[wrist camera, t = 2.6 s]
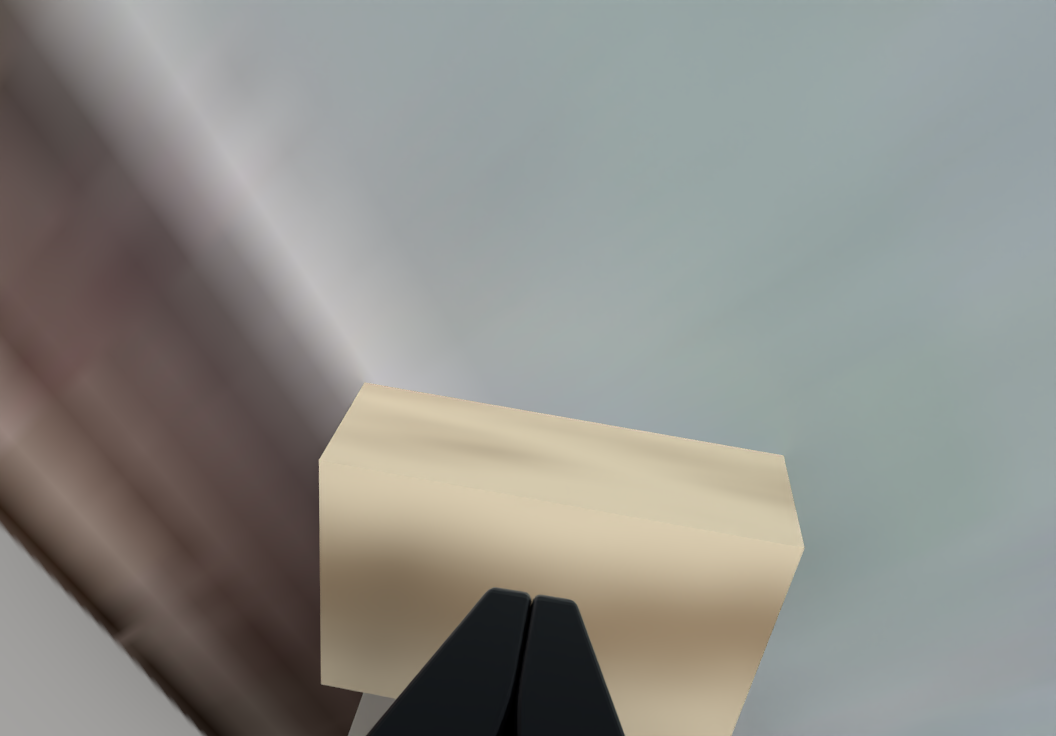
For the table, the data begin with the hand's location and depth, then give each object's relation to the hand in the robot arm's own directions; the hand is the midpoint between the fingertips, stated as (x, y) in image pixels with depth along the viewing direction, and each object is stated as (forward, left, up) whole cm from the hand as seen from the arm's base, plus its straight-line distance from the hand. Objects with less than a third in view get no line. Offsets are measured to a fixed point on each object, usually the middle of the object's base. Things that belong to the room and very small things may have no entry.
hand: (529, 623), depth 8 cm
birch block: (-8, 0, -11) cm, 14 cm away
